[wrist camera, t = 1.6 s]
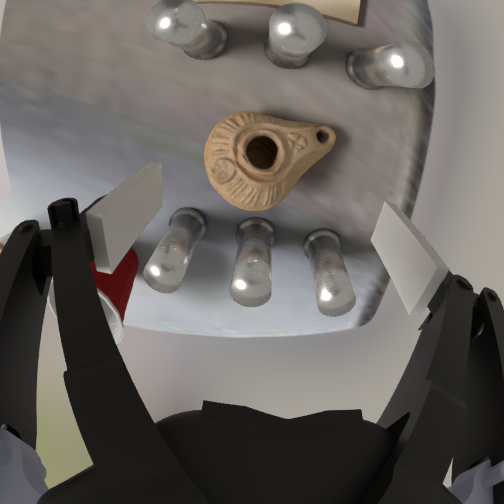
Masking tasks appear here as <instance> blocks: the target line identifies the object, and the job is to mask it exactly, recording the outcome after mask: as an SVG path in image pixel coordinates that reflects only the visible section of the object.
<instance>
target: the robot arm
mask: <svg viewBox="0 0 504 504" xmlns="http://www.w3.org/2000/svg"><path fill="white" fill-rule="evenodd" d="M161 208H162V164H159V163H149V164H148V165H146V166H145V167H143V168H142V169H141V170H139V171H138V172H137V173H135V174H134V175H132V176H131V177H130V178H128V179H127V180H126V181H124V182H123V183H122V184H120V185H119V186H118V187H117V188H115V189H114V190H113V191H111V192H110V193H109V194H108V195H105V196H103V197H100V198H98V199H97V200H96V201H94V202H93V203H92V204H91V205H90V206H88V208H86V209H85V210H84V211H82V212H81V213H80V214H79V209H78V202H77V200H76V199H74V198H63V199H60V200H57V201H55V202H53V203H51V204H50V205H49V206H48V208H47V209H48V214H49V219H50V224H51V229H49V230H40V227H39V223H38V221H36V220H28V221H27V220H26V221H23V222H21V223H20V224H19V225H18V226H16V228H15V229H14V230H13V232H12V233H11V235H10V237H9V239H8V240H7V242H6V244H5V246H4V248H3V250H2V252H1V253H0V504H504V309H503V306H502V304H501V301H500V299H499V297H498V296H497V293H495V291H493V290H491V289H489V288H487V287H486V288H483V290H482V291H481V293H480V295H478V294H476V293H474V292H473V287H472V285H471V284H470V283H469V282H468V281H467V279H465V278H464V277H462V276H460V275H453V274H452V273H451V272H450V270H449V268H448V267H447V265H446V264H445V263H444V261H443V260H442V259H441V257H440V256H439V255H438V253H437V252H436V251H435V250H434V248H433V247H432V246H431V245H430V243H429V242H428V241H427V240H426V239H425V237H424V236H423V235H422V234H421V233H420V232H419V230H418V229H417V228H416V227H415V225H414V224H413V223H412V222H411V221H410V220H409V219H408V217H407V216H406V215H405V214H404V213H403V212H402V211H401V210H400V209H399V208H398V206H397V205H396V204H393V203H390V202H386V201H385V202H384V205H383V208H382V211H381V214H380V216H379V219H378V222H377V225H376V227H375V230H374V233H373V235H372V238H371V242H372V244H373V245H374V247H375V249H376V251H377V253H378V254H379V256H380V258H381V260H382V262H383V264H384V266H385V267H386V269H387V271H388V273H389V275H390V277H391V279H392V281H393V283H394V285H395V287H396V289H397V291H398V293H399V295H400V297H401V299H402V301H403V303H404V306H405V308H406V310H407V312H408V314H409V315H410V316H421V315H422V314H423V312H424V311H425V309H426V308H427V306H428V308H429V310H430V313H429V315H428V316H427V318H426V319H425V321H424V322H423V324H422V325H421V326H420V328H419V329H418V330H421V329H422V331H421V334H420V336H419V339H418V341H417V344H416V346H415V349H414V351H413V354H412V356H411V358H410V360H409V363H408V365H407V367H406V369H405V371H404V374H403V376H402V378H401V380H400V382H399V384H398V386H397V388H396V390H395V392H394V394H393V395H392V397H391V399H390V401H389V403H388V405H387V407H386V408H385V410H384V412H383V414H382V416H381V417H380V419H379V420H378V422H377V423H376V424H375V423H373V422H370V421H367V420H363V417H362V411H361V409H357V410H328V411H323V412H319V413H315V414H311V415H307V416H302V417H297V418H292V419H284V418H281V417H277V416H274V415H271V414H267V413H264V412H261V411H258V410H255V409H252V408H249V407H246V406H239V405H230V404H224V403H217V402H211V401H205V400H204V401H203V406H202V410H192V411H187V412H181V413H178V414H174V415H171V416H169V417H166V418H164V419H162V420H161V421H158V422H157V423H154V422H153V420H152V418H151V416H150V414H149V413H148V411H147V409H146V407H145V405H144V403H143V401H142V399H141V397H140V395H139V394H138V391H137V389H136V387H135V385H134V383H133V381H132V379H131V377H130V374H129V372H128V370H127V368H126V366H125V363H124V361H123V359H122V356H121V354H120V352H119V350H118V348H117V345H116V343H115V340H114V337H113V335H112V332H111V330H110V327H109V324H108V321H107V318H106V316H105V313H104V310H103V307H102V304H101V300H100V297H99V294H98V291H97V287H96V284H95V281H94V277H93V273H92V270H91V266H90V264H91V263H92V262H93V261H95V265H96V269H97V271H100V272H104V273H109V274H112V273H113V271H114V270H115V268H116V267H117V266H118V264H119V263H120V261H121V260H122V258H123V257H124V256H125V254H126V253H127V252H128V250H129V249H130V247H131V246H132V245H133V243H134V242H135V241H136V239H137V238H138V237H139V235H140V234H141V233H142V232H143V230H144V229H145V228H146V226H147V225H148V224H149V223H150V221H151V220H152V219H153V218H154V216H155V215H156V214H157V213H158V211H159V210H160V209H161ZM52 276H53V287H54V297H55V305H56V313H57V320H58V325H59V332H60V337H61V342H62V347H63V352H64V357H65V361H66V365H67V371H65V372H64V382H65V386H66V390H67V393H68V397H69V400H70V403H71V406H72V410H73V413H74V416H75V419H76V422H77V425H78V427H79V430H80V433H81V435H82V438H83V440H84V443H85V445H86V448H87V450H88V452H89V455H90V457H91V459H92V462H93V465H92V466H90V467H88V468H87V469H85V470H83V471H82V472H80V473H78V474H76V475H75V476H73V477H71V478H69V479H68V480H66V481H64V482H62V483H60V484H58V485H57V486H55V487H53V488H51V489H48V487H47V486H46V484H45V481H44V479H45V478H46V469H45V467H44V466H43V464H42V463H41V460H40V457H39V456H38V454H37V452H36V451H35V450H36V437H37V416H36V415H37V414H36V390H37V389H36V388H37V370H38V358H39V347H40V340H41V332H42V325H43V319H44V313H45V308H46V303H47V298H48V293H49V289H50V284H51V280H52ZM482 329H483V330H482ZM481 331H482V332H481ZM480 332H481V333H480ZM479 333H480V334H479ZM452 458H453V464H452V486H451V487H448V488H446V487H445V486H444V485H443V484H442V483H443V481H444V479H445V476H446V474H447V471H448V469H449V466H450V464H451V461H452Z"/></svg>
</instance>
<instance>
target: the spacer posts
mask: <svg viewBox="0 0 504 504" xmlns="http://www.w3.org/2000/svg"><path fill="white" fill-rule="evenodd" d="M146 27H147V30H148V32H149V34H150V35H151V36H152V37H154V38H155V39H157V40H160V41H163V42H166V43H168V44H171V45H173V46H176V47H179V48H181V49H183V50H184V52H185V53H186V54H187V55H189V56H190V57H193V58H195V59H199V60H206V59H211V58H214V57H216V56H217V55H219V54H220V53H221V52H222V51H223V50H224V48H225V47H226V44H227V39H228V38H227V33H226V31H225V29H224V28H223V27H222V26H221V25H220V24H219V23H217V22H215V21H212V20H211V19H210V18H209V17H208V16H207V15H206V14H205V13H204V12H203V10H202V9H201V8H200V7H199V6H198V5H197V4H196V3H195V2H194V1H193V0H162V1H160V2H159V3H157V4H156V5H155V6H154V7H153V8H152V9H151V11H150V12H149V14H148V16H147V20H146ZM327 33H328V26H327V22H326V20H325V18H324V16H323V15H322V14H321V13H320V12H319V11H318V10H317V9H315V8H313V7H311V6H309V5H306V4H302V3H289V4H285V5H283V6H281V7H279V8H277V9H276V10H275V11H274V12H273V14H272V15H271V17H270V21H269V35H268V37H267V38H266V41H265V53H266V56H267V57H268V59H269V60H270V61H271V62H272V63H273V64H275V65H276V66H278V67H281V68H286V69H293V68H297V67H300V66H302V65H303V64H305V63H306V62H307V61H308V60H309V58H310V56H311V53H312V51H313V50H315V49H316V48H317V47H318V46H319V45H321V44H322V43H323V42H324V40H325V39H326V36H327ZM346 70H347V73H348V76H349V77H350V79H351V80H352V81H353V82H354V83H355V84H356V85H358V86H360V87H362V88H365V89H377V88H380V87H382V86H396V87H409V88H424V87H426V86H428V85H429V84H430V83H431V82H432V80H433V78H434V74H435V67H434V62H433V60H432V58H431V56H430V54H429V53H428V51H427V50H426V49H425V48H424V47H423V46H421V45H420V44H418V43H417V42H414V41H410V40H404V41H400V42H396V43H392V44H388V45H385V46H381V47H378V48H375V49H366V48H364V49H359V50H356V51H354V52H352V53H351V54H350V55H349V57H348V58H347V61H346ZM206 228H207V224H206V220H205V218H204V216H203V215H202V214H201V213H200V212H199V211H197V210H195V209H193V208H181V209H179V210H177V211H176V212H175V213H174V214H173V215H172V217H171V219H170V221H169V228H168V230H167V231H166V233H165V234H164V236H163V238H162V239H161V241H160V243H159V244H158V246H157V248H156V249H155V251H154V253H153V254H152V256H151V258H150V259H149V261H148V263H147V264H146V266H145V268H144V271H143V276H144V279H145V281H146V283H147V284H148V285H149V286H150V287H151V288H153V289H154V290H156V291H158V292H161V293H173V292H175V291H176V290H178V289H179V287H180V285H181V282H182V279H183V277H184V274H185V272H186V269H187V267H188V264H189V262H190V259H191V257H192V254H193V252H194V249H195V247H196V244H197V242H198V241H200V240H201V239H202V238H203V236H204V234H205V232H206ZM236 240H237V243H238V248H237V253H236V259H235V264H234V270H233V275H232V281H231V287H230V294H231V297H232V298H233V300H234V301H235V302H237V303H238V304H240V305H242V306H246V307H258V306H261V305H263V304H265V303H266V302H267V301H268V300H269V299H270V297H271V247H272V245H273V243H274V240H275V232H274V228H273V226H272V225H271V224H270V223H269V222H268V221H267V220H265V219H262V218H258V217H252V218H248V219H246V220H244V221H243V222H242V223H241V224H240V225H239V227H238V229H237V234H236ZM340 248H341V244H340V241H339V238H338V236H337V235H336V233H335V232H333V231H332V230H329V229H317V230H314V231H312V232H311V233H310V234H309V235H308V236H307V237H306V239H305V241H304V252H305V255H306V256H307V258H308V259H309V260H310V265H311V270H312V275H313V280H314V286H315V291H316V297H317V303H318V308H319V311H320V312H321V313H322V314H324V315H326V316H330V317H336V316H341V315H344V314H346V313H347V312H349V311H350V310H351V309H352V308H353V307H354V305H355V303H356V297H355V294H354V291H353V288H352V285H351V282H350V279H349V276H348V273H347V270H346V267H345V264H344V261H343V259H342V256H341V253H340Z"/></svg>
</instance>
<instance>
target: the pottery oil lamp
mask: <svg viewBox="0 0 504 504" xmlns="http://www.w3.org/2000/svg"><path fill="white" fill-rule="evenodd" d="M335 142H336V134H335V132H334V131H333V129H332V128H330V127H329V126H327V125H324V124H316V123H311V122H297V121H288V120H283V119H280V118H276V117H273V116H269V115H266V114H263V113H259V112H252V111H241V112H236V113H233V114H231V115H229V116H227V117H225V118H224V119H223V120H221V121H220V122H219V123H218V124H217V125H216V126H215V127H214V129H213V130H212V131H211V133H210V135H209V137H208V139H207V142H206V145H205V151H204V162H205V167H206V171H207V175H208V178H209V180H210V183H211V184H212V186H213V187H214V188H215V190H216V191H217V192H218V193H219V194H220V195H221V196H222V197H223V198H224V199H226V200H227V201H228V202H229V203H231V204H232V205H233V206H236V207H239V208H241V209H244V210H249V211H263V210H268V209H270V208H272V207H274V206H275V205H277V204H278V203H279V202H281V201H282V200H283V199H284V198H285V197H286V196H287V195H288V194H289V192H290V191H291V189H292V188H293V186H294V185H295V183H296V182H297V181H298V179H299V178H300V177H301V176H302V175H303V174H304V173H305V172H306V171H307V170H308V169H309V168H310V167H311V166H312V165H313V164H315V163H316V162H317V161H318V160H319V159H320V158H322V157H323V156H324V155H325V154H327V153H328V152H330V151H331V150H332V148H333V145H334V144H335Z"/></svg>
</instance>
